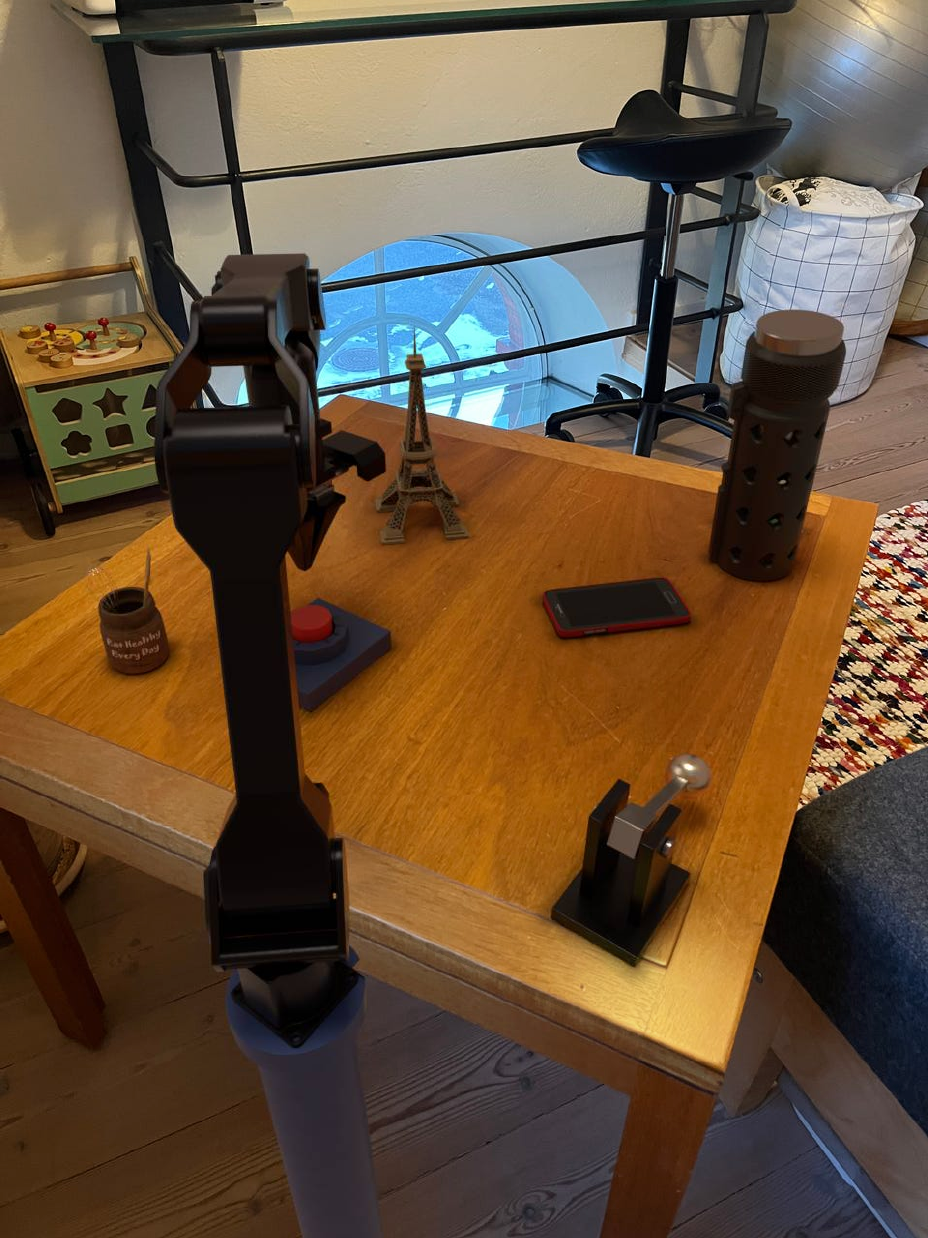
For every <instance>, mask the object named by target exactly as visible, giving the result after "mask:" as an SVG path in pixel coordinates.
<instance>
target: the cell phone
mask: <svg viewBox="0 0 928 1238" xmlns="http://www.w3.org/2000/svg"><path fill="white" fill-rule="evenodd" d="M541 599H542V602H543V606H544V608H545V610H546V612H547V614H548V616H549V619H550V621H551V624H552V625H553V627H554V629H555V632H556V633H557V634H558V636H560V637H562V638H572V637H573V638H574V637H580V636H585V635H592V634H593V635H594V634H601V633H615V632H616V633H617V632H622V631H623V632H624V631H631V630H640V629H649V628H657V627H663V626H664V627H665V626H673V625H679V624H686V623H689V622H691V619H692V612H691V610H690V609H689V607H688V605H687V604H686V602H685V601H684V600H683V598H682V597H681V595H680V594H679V592H678V591H677V589H676V588H675V586H674V584H673V583H672V582H671V581H670V580H669V579H668V578H666V577H664V576H663V577H650V578H641V579H640V578H639V579H633V580H623V581H614V582H606V583H605V582H604V583H596V584H589V585H588V584H586V585H579V586H569V587H562V588H561V587H560V588H553V589H547V590H545V591H543V593H542V598H541Z"/></svg>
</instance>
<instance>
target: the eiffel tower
mask: <svg viewBox="0 0 928 1238" xmlns="http://www.w3.org/2000/svg"><path fill="white" fill-rule="evenodd" d="M415 328H416V327H413V352H412V354H411V353H410V354H405V355H406V359H405V360H404V364H405V365H404V366H405V368H406V370H408V371H409V378H408V396H407V397H408V398H407V411H406V421H405V432H404V439H400V442H399V450H400V455H401V462H400V465H399V468H398V469H395V471H394V472H395V478H394V479H393V480H392V481H391V482H390V484H389V485H387V488H386V489H385V490H384V491H383V492H382V494H381V496H380V498H377V499H374V505H375V510H376V513H386V512H387V513H390V512H392V514H391V515H390V517H389V518H388V520H387V521H386V523H385V524H384V528H382V530H379V537H380V538H379V539H380V544H381V546H388V545H399V544H405V536H404V531H403V527H404V523H405V519H406V515H407V510H408V509H409V508H410V507H411V506H413V505H414V504H416V503H419V502H427V503H430V504H431V505H433V506H434V507H436V508H437V510H438V512H439V515H440V516H441V518H442V521H443V524H442V527H443V528H442V529H443V533H444V537H445V540H447V541H449V540H450V541H451V540H461V539H470V538H469V537H470V536H469V532H468V529H467V525H466V524H465V523H463V522H462V521H461V518H460V516H458V514H457V513H456V512H455V510H454V509H453V508H452V507H454V508H455V507H460V502H459V499H458V495H457V493H453V492H452V490H451V489H450V487H449V486H448V485H447V483H446V482H445V481H444V479H442V477H441V475H440V470H439V466H436V463H435V458H436V457H437V456H438V455H437V452H436V447H435V444H434V442H433V441H434V440H433V437H430V429H429V424H428V422H429V421H428V416H427V409H426V401H425V394H424V393H425V392H424V384H423V377H422V370H424V369H426V368H427V366H426V363H425V359H424V356H423V353H417V343H416V332H415V331H416V330H415ZM417 416H418V423H419V430H420V436H421V439H418V440H416V429H417V428H416V427H417V426H416V425H417ZM418 465H426V466H425V467H426V468H425V469H424V468H423V469H413V466H418Z"/></svg>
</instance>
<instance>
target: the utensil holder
mask: <svg viewBox="0 0 928 1238" xmlns="http://www.w3.org/2000/svg"><path fill="white" fill-rule="evenodd" d="M151 558H152V554H151V550H150V546H148V547H147V550H146V558H145V568H144V588H143V587H139V586H124V587H120V588H117V585H116V584H115V582H114V579H113V578H112V577H111V574H109V572H108V571H107V570H105V569H104V568H101V567H100V566H97V567H92V568H91V569H88V570H87V572H86V574H85V575H84V578H86V577H87V582H86V581H84V583H85V586H86V587H87V590H88V591H89V593H90V594H91V596H92V597H93V599H95V600H96V601H97V602H98V605H97V606H98V609H97V611H98V616H99V619H100V621H99V631H100V634H101V640H102V643H103V647H104V648H105V653H106V656H107V659H108V661H109V663H110V665H111V666H112V667H113V668H114V669H115V670H116V671H118V672H119V673H124V674H129V675H130V674H131V675H135V674H143V673H146V672H150V671H152V670H154V669H156V668H158V667H159V666H161V665H162V664H163V663H164V662H165V661H166V659H168V656H169V653H170V645H169V639H168V635H167V630H166V626H165V622H164V619H163V617H162V614H161V612H160V610H159V609H158V607H157V606H156V601H155V598H154V596H153V595H152V593H151V592H150V590H149V587H150V586H149V584H150V581H151V561H152V559H151ZM97 569H100V571H104V572H105V574H106V576H107V578H108V579H109V581H110V584H109V581H107V579H106V578H105V576H104V575H103V574H102V573H100V571H97ZM94 572H95V573H96V574H97V576H98V579H99V580H100V582H101V584H102V586H103V587H104V589H105V592H106V594H105V595H104V593H103V591H102V589H101V587H100V585H99V584H98V582H97V579H96V577H95V574H94ZM91 573H92V575H93V578H94V579H95V582H96V584H97V587H98V588H99V590H100V592H101V593H102V595H103V596H102V595H100V594H99V592H98V591H97V589H96V588H95V586H94V583H93V582H92V581H91V579H90V574H91ZM99 574H100V575H101V576H102V577H103V578H104V580H105V581H106V583H107V586H108V587H109V588H110V590H111V591H109V592H108V590H107V588H106V587H105V585H104V583H103V581H102V579H101V578H100V575H99ZM89 582H90V583H91V585H92V587H93V589H94V591H96V593H97V594H98V595H99V597H100V598H101V599H100V600H99V599H98V598H97V596H95V593H94V592H93V590H92V588H91V585H90V583H89ZM110 585H111V586H112V587H111V586H110ZM113 585H114V586H113ZM114 587H115V588H114Z"/></svg>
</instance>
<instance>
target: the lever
mask: <svg viewBox="0 0 928 1238" xmlns="http://www.w3.org/2000/svg"><path fill="white" fill-rule="evenodd" d="M712 775H713V774H712V770H711V767H710V766H709V764H708V762H707V761H706V760H705V759H704V758H703V757H701V756H699V755H697V754H694V753H690V752H689V753H688V752H687V753H681V754H678V755H676V756H675V757H673V758H672V759H671V760H670V761H669V762H668V764H667V766H666V769H665V782H666V784H665V786H663V788H661V789H660V790H659V791H658V792H657V793H656V794H655V795H653V796H652V797H651V798H650V800H648V801H647V802H646V803H645V804H644V805H643V806H640V805H639V804H637V803H635V802H632V801H630V802H628V804H627V806H626V807H625V808H624V809H623V810H621V811H620V812H619V813H618V814H617V815H616V816H615V817H614V821H613V824H612V828H611V831H610V834H609V838H608V841H607V845H608V846H610V847H612V848H614V849H616V850H618V851H620V852H621V853H623V854H625V855H627V856H629V857H631V858H633V859H635V858H636V857H637V856H638V855H639V851H640V845H641V842H642V841H643V840H644V838H645V837H646V835H647V834H648V833H649V831H650V830H651V828H652V827H653V826H654V824H655V823H656V821H657V820H658V819H659V817H660V816H661V814H662V813H663V812H664V810H665V809H666V807H667V806H668V805H669V804H672V805H674V803H676V801H677V800H678V799H680V798H681V799H685V800H693V799H697V798H700V797H702V796H704V794H706V793H707V792H708V790H709V788H710V786H711V785H712V779H713V778H712V777H713V776H712Z"/></svg>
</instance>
